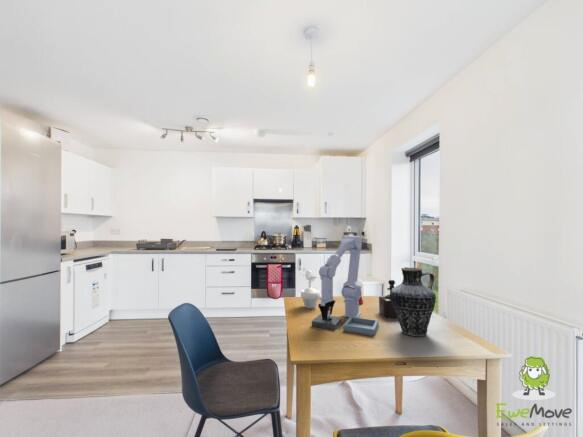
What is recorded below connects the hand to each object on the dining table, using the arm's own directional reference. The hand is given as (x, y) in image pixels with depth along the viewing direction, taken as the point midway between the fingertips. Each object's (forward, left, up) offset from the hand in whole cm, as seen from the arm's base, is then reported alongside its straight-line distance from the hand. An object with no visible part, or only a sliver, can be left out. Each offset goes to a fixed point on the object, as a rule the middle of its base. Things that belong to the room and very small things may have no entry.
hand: (327, 316), depth 147 cm
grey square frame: (0, 0, -4) cm, 4 cm away
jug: (-6, +40, -4) cm, 41 cm away
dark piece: (-31, +27, -4) cm, 41 cm away
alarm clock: (-47, +3, -4) cm, 47 cm away
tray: (-1, +17, -4) cm, 17 cm away
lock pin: (0, 0, -4) cm, 4 cm away
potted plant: (-24, -18, -4) cm, 30 cm away
